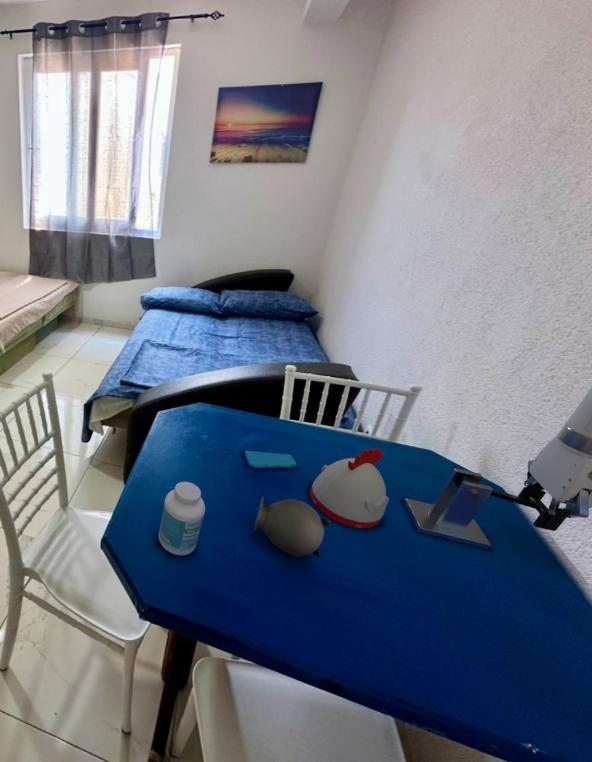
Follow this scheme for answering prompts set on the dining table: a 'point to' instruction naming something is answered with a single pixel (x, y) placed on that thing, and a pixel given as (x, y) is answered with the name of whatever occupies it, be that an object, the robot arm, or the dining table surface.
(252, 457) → the sponge
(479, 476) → the bracket
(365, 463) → the kitchen timer
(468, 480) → the lever
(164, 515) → the pill bottle
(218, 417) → the dining table surface
